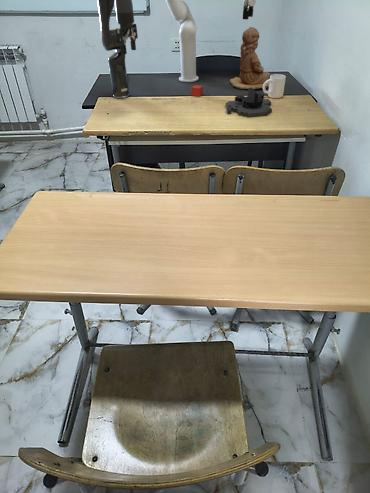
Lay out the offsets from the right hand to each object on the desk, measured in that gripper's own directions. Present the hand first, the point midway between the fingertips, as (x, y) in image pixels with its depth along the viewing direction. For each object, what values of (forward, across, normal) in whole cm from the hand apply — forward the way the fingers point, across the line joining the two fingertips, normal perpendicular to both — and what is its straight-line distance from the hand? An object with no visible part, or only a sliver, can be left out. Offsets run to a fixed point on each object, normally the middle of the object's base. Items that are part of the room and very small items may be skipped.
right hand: (247, 17), depth 204 cm
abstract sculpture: (+33, -51, -18) cm, 64 cm away
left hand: (+4, -75, +36) cm, 83 cm away
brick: (+33, -37, +17) cm, 53 cm away
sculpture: (+33, -8, -7) cm, 35 cm away
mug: (+33, -28, -24) cm, 49 cm away
